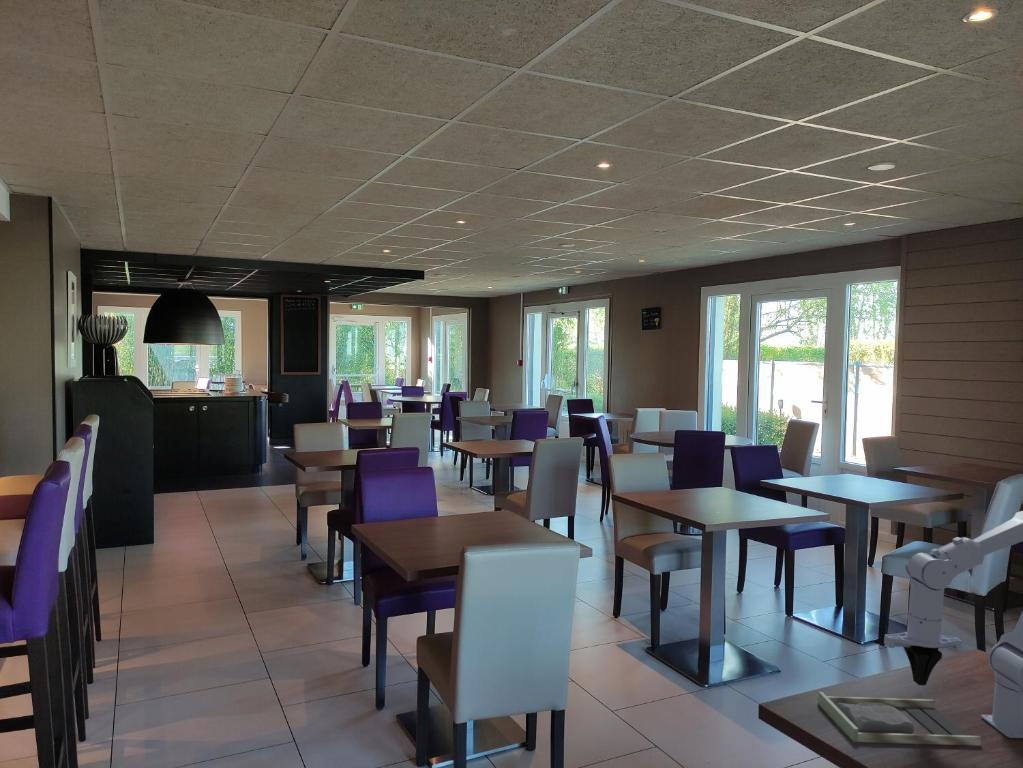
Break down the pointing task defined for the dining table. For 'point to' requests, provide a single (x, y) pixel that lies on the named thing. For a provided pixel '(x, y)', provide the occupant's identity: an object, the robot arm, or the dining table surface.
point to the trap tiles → (938, 718)
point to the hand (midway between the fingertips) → (919, 683)
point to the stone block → (876, 718)
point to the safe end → (838, 717)
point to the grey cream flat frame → (906, 737)
